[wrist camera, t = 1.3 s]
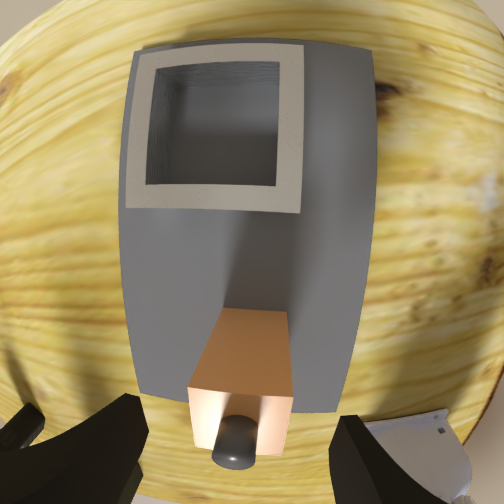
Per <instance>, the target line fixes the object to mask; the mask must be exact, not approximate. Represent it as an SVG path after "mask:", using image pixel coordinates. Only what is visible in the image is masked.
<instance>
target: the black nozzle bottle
mask: <svg viewBox="0 0 504 504" xmlns="http://www.w3.org/2000/svg"><path fill="white" fill-rule="evenodd" d="M142 477H143V474H142V471H141V469H140V467H139V465H138V462H137V463H136V465H135V467H134V469H133V471H132V473H131V475H130V477H129V478H128V480H127V482H126V484H125V486H124V488H123V490H122V492H121V494H120V497H119V499H118V502H117V504H131V502H132V500H133V497H134V495H135V493H136V491H137V489H138V486H139V484H140V482H141V480H142Z"/></svg>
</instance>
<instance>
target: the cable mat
mask: <svg viewBox="0 0 504 504" xmlns="http://www.w3.org/2000/svg"><path fill="white" fill-rule="evenodd" d="M235 43H274V44H293V45H304V133H303V165H302V188H301V207H300V213H285V212H267V211H247V210H222V209H186V208H126V168H127V151H128V138H129V127H130V117H131V109H132V101H133V94H134V87H135V81H136V75H137V69H138V64H139V59H140V55H143V54H148V53H153V52H159V51H165V50H171V49H178V48H185V47H194V46H203V45H216V44H235ZM278 111H279V86H210V87H195V88H183V89H177V93H176V103H175V113H174V124H173V137H172V152H171V172H170V184H221V185H254V186H275V187H276V167H277V141H278ZM376 176H377V114H376V94H375V80H374V69H373V60H372V51H371V50H366V49H361V48H356V47H351V46H345V45H339V44H333V43H325V42H317V41H308V40H297V39H280V38H230V39H214V40H202V41H193V42H185V43H177V44H171V45H165V46H159V47H154V48H149V49H144V50H139V51H135V52H134V55H133V60H132V65H131V70H130V76H129V82H128V88H127V94H126V101H125V109H124V117H123V126H122V137H121V149H120V166H119V201H118V211H119V247H120V263H121V276H122V287H123V297H124V305H125V313H126V320H127V327H128V334H129V340H130V346H131V352H132V357H133V362H134V367H135V372H136V377H137V381H138V386H139V390H140V393H143V394H147V395H152V396H156V397H161V398H166V399H171V400H176V401H181V402H187V403H189V397H188V388H187V387H188V385H189V382H190V380H191V378H192V376H193V373H194V371H195V369H196V367H197V364H198V362H199V360H200V358H201V355H202V353H203V351H204V349H205V346H206V344H207V342H208V340H209V337H210V335H211V333H212V331H213V328H214V326H215V324H216V322H217V319H218V317H219V315H220V313H221V311H222V308H223V307H224V308H236V309H249V310H264V311H281V312H287V320H288V331H289V343H290V355H291V368H292V382H293V396H294V397H293V403H292V408H291V413H329V412H336V410H337V407H338V404H339V401H340V397H341V394H342V390H343V387H344V383H345V380H346V376H347V372H348V368H349V364H350V360H351V356H352V352H353V348H354V344H355V339H356V335H357V330H358V325H359V320H360V315H361V310H362V304H363V299H364V293H365V287H366V281H367V274H368V267H369V259H370V252H371V243H372V234H373V223H374V211H375V197H376Z"/></svg>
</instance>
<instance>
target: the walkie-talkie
mask: <svg viewBox="0 0 504 504" xmlns="http://www.w3.org/2000/svg"><path fill="white" fill-rule="evenodd" d="M44 424H45V418H44V416H43V415H42V414H41V413H40V412H39V411H38V410H37V409H36V408H34V407H33V406H32V405H31V404H30V403H27V404H26V405H25V406H24V407H23V408H22V409H21V410H20V411H19V412H18V413H17V414H16V415H15V416H14V417H13V418H12V419H11V420H10V421H9V422H8V423H7V424H6V425H5V426H4V427H3V428H2V429H0V452H7V451H13V450H18V449H21V448H25V447H28V446H29V445H30V444H31V443H32V442H33V440H34V439H35V438H36V437H37V436H38V435H39V434H40V432H41V431H42V430H43V429H44Z"/></svg>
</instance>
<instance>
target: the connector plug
mask: <svg viewBox="0 0 504 504" xmlns="http://www.w3.org/2000/svg"><path fill="white" fill-rule="evenodd" d="M187 388H188V397H189V405H190V413H191V420H192V427H193V434H194V440H195V447H200V448H206V449H212V450H213V452H212V459H213V461H214V462H215V463H216V464H218V465H219V466H221V467H224V468H227V469H232V470H244V469H248V468H250V467H252V466H253V465H254V463H255V457H256V454H260V455H282V453H283V449H284V444H285V439H286V434H287V429H288V424H289V419H290V414H291V408H292V403H293V397H294V396H293V382H292V368H291V355H290V343H289V331H288V320H287V312H281V311H264V310H249V309H236V308H224V307H223V308H222V311H221V313H220V315H219V317H218V319H217V322H216V324H215V326H214V328H213V331H212V333H211V335H210V337H209V340H208V342H207V344H206V346H205V349H204V351H203V353H202V355H201V358H200V360H199V362H198V364H197V367H196V369H195V371H194V373H193V376H192V378H191V380H190V382H189V385H188V387H187Z"/></svg>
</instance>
